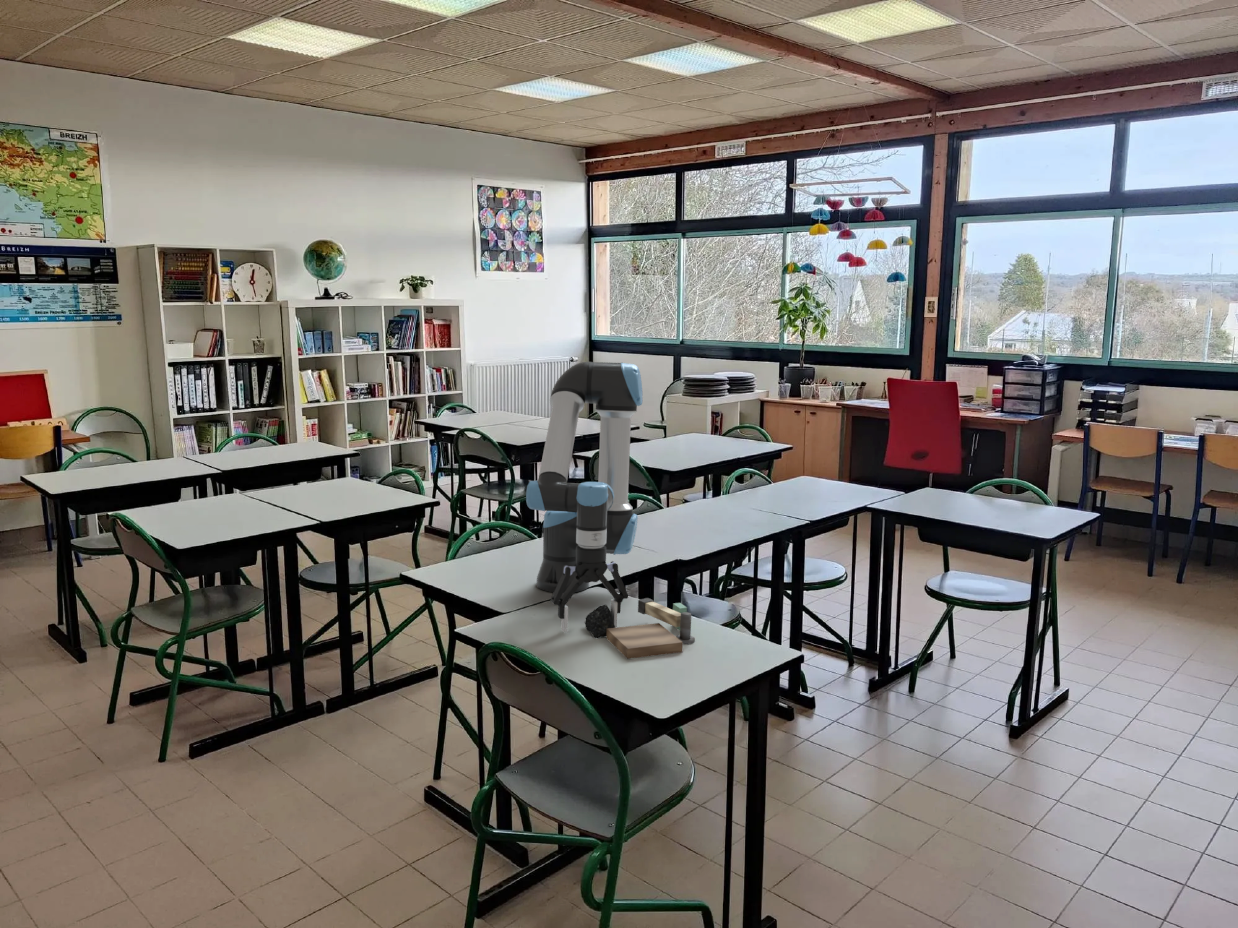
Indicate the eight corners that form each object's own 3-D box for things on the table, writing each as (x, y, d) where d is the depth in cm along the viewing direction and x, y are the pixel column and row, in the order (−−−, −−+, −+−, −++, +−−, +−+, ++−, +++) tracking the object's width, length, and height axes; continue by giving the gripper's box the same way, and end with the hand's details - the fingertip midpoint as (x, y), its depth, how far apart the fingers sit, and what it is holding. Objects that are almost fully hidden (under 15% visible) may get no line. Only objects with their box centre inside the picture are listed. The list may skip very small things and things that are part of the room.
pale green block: (672, 625, 240) (673, 603, 239) (679, 624, 241) (680, 602, 240) (678, 630, 236) (679, 608, 235) (686, 629, 237) (686, 607, 236)
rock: (593, 640, 229) (593, 617, 228) (580, 626, 238) (581, 604, 237) (620, 637, 231) (620, 614, 230) (606, 623, 240) (607, 602, 239)
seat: (606, 638, 229) (607, 611, 228) (681, 629, 237) (682, 604, 236) (627, 658, 217) (628, 630, 215) (706, 649, 224) (707, 622, 223)
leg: (684, 625, 232) (685, 613, 231) (675, 628, 230) (675, 615, 229) (647, 609, 243) (647, 597, 242) (637, 611, 241) (638, 599, 241)
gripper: (548, 551, 223) (546, 637, 227) (642, 545, 232) (640, 628, 236) (539, 544, 230) (537, 628, 234) (631, 538, 239) (629, 619, 242)
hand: (589, 628), depth 235 cm, fingers open, 12 cm apart
